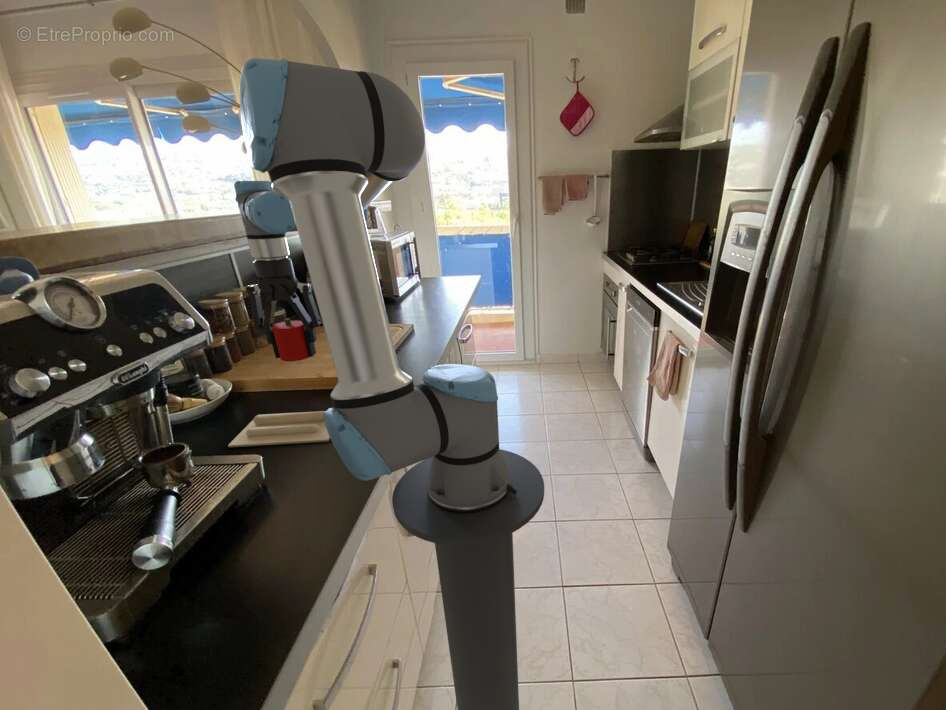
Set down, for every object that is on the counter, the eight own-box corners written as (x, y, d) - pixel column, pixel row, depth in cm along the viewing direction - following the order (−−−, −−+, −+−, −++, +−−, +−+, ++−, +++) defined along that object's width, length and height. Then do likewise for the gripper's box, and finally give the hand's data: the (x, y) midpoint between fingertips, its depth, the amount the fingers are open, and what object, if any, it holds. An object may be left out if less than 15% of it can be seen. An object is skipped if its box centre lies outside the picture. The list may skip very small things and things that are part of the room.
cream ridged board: (346, 411, 107) (344, 402, 106) (328, 441, 94) (325, 431, 93) (258, 416, 105) (255, 407, 104) (228, 447, 92) (224, 437, 91)
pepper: (316, 351, 112) (307, 314, 108) (306, 360, 106) (297, 322, 102) (287, 352, 112) (277, 315, 108) (275, 362, 105) (265, 323, 101)
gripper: (323, 254, 103) (342, 348, 113) (232, 256, 101) (260, 352, 111) (312, 259, 96) (334, 359, 106) (215, 261, 95) (246, 362, 104)
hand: (296, 355), depth 109 cm, fingers closed on pepper, 7 cm apart
